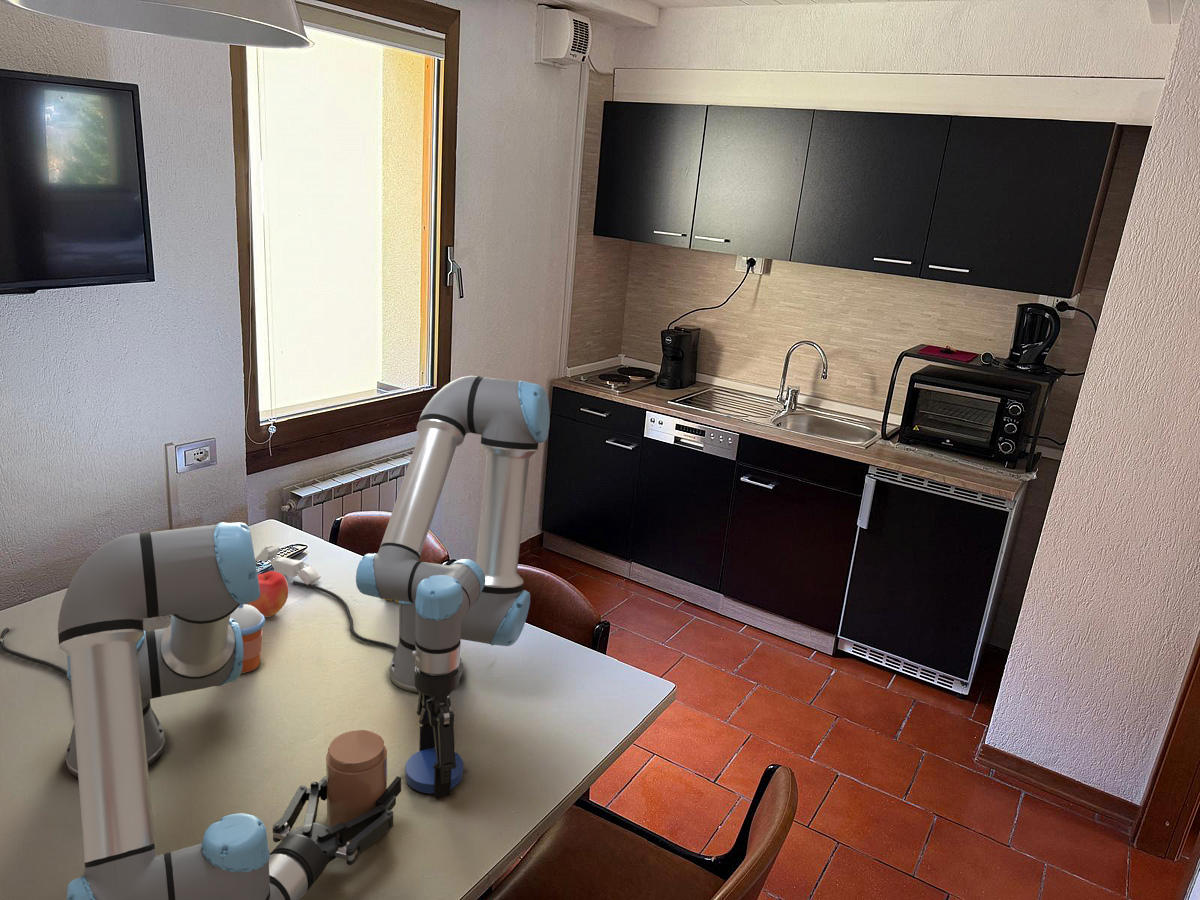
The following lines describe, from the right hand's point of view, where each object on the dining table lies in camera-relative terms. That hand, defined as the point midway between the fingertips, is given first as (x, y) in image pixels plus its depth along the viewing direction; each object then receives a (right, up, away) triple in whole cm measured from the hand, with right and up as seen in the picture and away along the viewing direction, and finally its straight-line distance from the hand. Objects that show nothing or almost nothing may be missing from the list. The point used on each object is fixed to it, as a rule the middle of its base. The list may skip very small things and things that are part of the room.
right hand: (434, 775), depth 152 cm
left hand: (-8, +4, -10) cm, 14 cm away
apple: (-49, +19, +49) cm, 72 cm away
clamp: (-51, +25, +69) cm, 89 cm away
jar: (-10, -3, -13) cm, 17 cm away
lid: (0, +2, -1) cm, 2 cm away
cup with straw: (-46, +12, +28) cm, 55 cm away
